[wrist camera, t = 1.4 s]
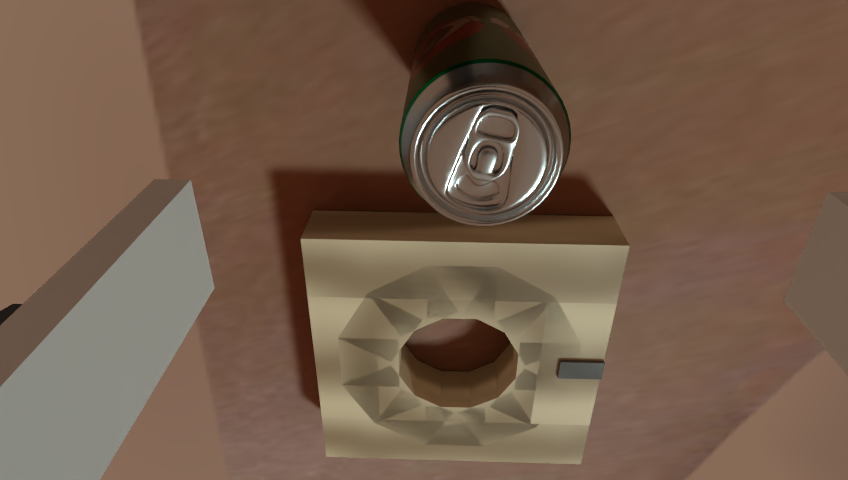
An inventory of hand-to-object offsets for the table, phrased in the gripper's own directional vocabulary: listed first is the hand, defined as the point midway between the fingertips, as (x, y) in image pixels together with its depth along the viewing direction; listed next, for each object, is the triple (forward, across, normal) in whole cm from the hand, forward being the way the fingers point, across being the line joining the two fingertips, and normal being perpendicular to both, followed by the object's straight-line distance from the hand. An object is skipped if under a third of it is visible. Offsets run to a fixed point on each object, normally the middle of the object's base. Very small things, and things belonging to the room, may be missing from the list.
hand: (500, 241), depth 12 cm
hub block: (+16, 0, -16) cm, 23 cm away
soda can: (+16, 0, 0) cm, 16 cm away
